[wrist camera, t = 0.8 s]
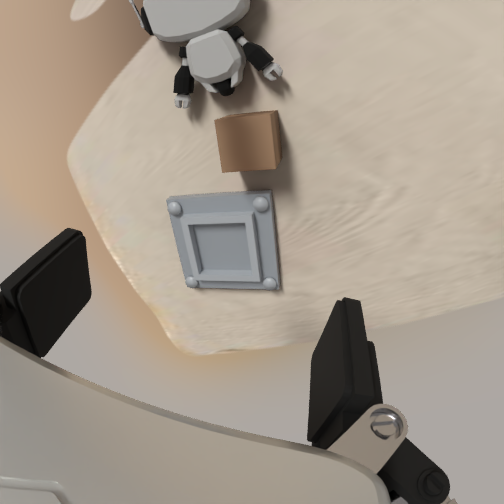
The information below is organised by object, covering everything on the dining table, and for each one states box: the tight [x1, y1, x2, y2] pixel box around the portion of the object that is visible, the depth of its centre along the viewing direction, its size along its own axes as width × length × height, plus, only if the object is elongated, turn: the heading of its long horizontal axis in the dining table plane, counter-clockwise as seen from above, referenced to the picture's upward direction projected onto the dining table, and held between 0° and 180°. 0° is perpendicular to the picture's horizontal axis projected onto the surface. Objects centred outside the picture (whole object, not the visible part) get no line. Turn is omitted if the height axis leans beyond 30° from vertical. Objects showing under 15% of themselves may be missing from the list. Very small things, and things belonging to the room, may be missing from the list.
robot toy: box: [129, 0, 283, 108], centre depth 26 cm, size 12×4×15 cm
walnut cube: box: [215, 110, 282, 173], centre depth 30 cm, size 5×5×5 cm
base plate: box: [166, 190, 280, 290], centre depth 38 cm, size 12×12×2 cm
